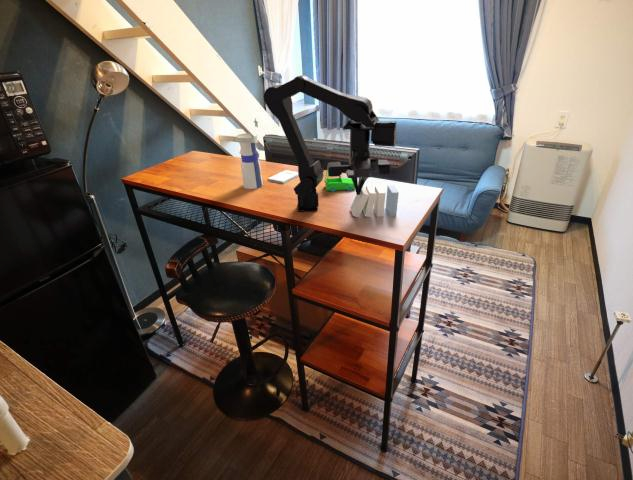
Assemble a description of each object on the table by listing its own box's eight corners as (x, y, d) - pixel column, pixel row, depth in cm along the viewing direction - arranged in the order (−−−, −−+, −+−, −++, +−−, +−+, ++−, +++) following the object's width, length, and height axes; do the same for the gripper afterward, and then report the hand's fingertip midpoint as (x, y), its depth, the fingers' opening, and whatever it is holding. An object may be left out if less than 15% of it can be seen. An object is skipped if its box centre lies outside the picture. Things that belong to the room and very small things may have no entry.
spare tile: (390, 216, 109) (392, 192, 105) (385, 208, 114) (387, 185, 110) (396, 215, 109) (398, 192, 105) (391, 207, 114) (393, 185, 110)
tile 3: (377, 216, 109) (379, 193, 105) (373, 208, 114) (375, 186, 110) (383, 216, 109) (385, 193, 105) (379, 208, 114) (381, 185, 110)
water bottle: (252, 180, 140) (244, 116, 128) (268, 184, 136) (261, 118, 123) (237, 186, 135) (227, 120, 122) (253, 190, 130) (244, 122, 118)
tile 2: (364, 216, 109) (369, 193, 105) (361, 208, 114) (366, 185, 110) (371, 216, 109) (376, 193, 105) (367, 208, 114) (372, 186, 110)
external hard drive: (267, 182, 140) (285, 172, 149) (283, 185, 136) (301, 175, 145) (267, 178, 139) (285, 169, 148) (283, 181, 135) (301, 172, 144)
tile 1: (352, 215, 108) (363, 193, 105) (350, 207, 114) (360, 186, 110) (358, 217, 109) (369, 195, 105) (355, 209, 114) (365, 188, 110)
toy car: (326, 192, 128) (326, 175, 124) (324, 185, 134) (324, 169, 130) (356, 190, 129) (356, 173, 125) (352, 184, 134) (353, 167, 131)
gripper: (329, 154, 93) (330, 206, 101) (398, 151, 93) (393, 203, 101) (326, 143, 103) (327, 192, 110) (388, 140, 103) (385, 189, 111)
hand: (357, 194), depth 108 cm, fingers closed
